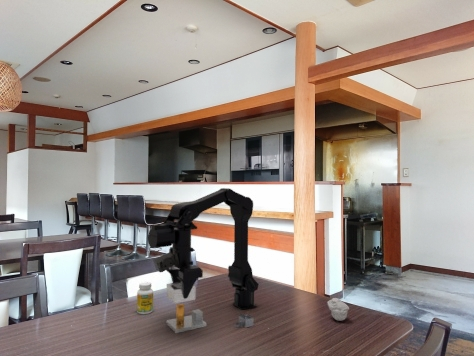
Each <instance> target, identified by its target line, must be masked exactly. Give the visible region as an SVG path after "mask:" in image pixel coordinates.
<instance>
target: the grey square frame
mask: <svg viewBox="0 0 474 356" xmlns="http://www.w3.org/2000/svg"><path fill="white" fill-rule="evenodd" d="M196 290H197V289H196V285H195V284H194V285H193V287H192V289H191V291H190V293H189V296H188V298H185V299H184V297H183V290H182V282H176V283H173V282H171V283H166V298H167V299H168V300H169V301H171V303H173V304H181V303H184V302H190V301H191V302H192V301H195V300H196Z"/></svg>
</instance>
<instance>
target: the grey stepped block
mask: <svg viewBox="0 0 474 356" xmlns="http://www.w3.org/2000/svg"><path fill="white" fill-rule="evenodd" d="M254 319H255V317H253V316H251V315H250V314H248V313H243V314H239V315H238V322H237V323H234V324H233V325H234V328H243V327H244V328H249V327H254V321H255V320H254Z"/></svg>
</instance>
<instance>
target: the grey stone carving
mask: <svg viewBox="0 0 474 356" xmlns="http://www.w3.org/2000/svg"><path fill="white" fill-rule="evenodd" d="M327 307H328V309H329V310H330V311H331V316H332V318H333V319H334V320H336V321H339V322H340V321H341V322H342V321H344V320H346V318H347V316H348V311H349V310H350V307H349V305H347V304H346V303H345V302H343V301H342V300H340V298H337V297H333V298H332V299H329V300H328V301H327Z"/></svg>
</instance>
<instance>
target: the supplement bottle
mask: <svg viewBox="0 0 474 356" xmlns="http://www.w3.org/2000/svg"><path fill="white" fill-rule="evenodd" d="M138 288H139V289H138V290H137V293H136V313H137V314H139V315H148V314H150V313H152V312H153V311H154V290H153V288H152V283H151V282H149V281H144V282H140V283H139V287H138Z"/></svg>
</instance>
